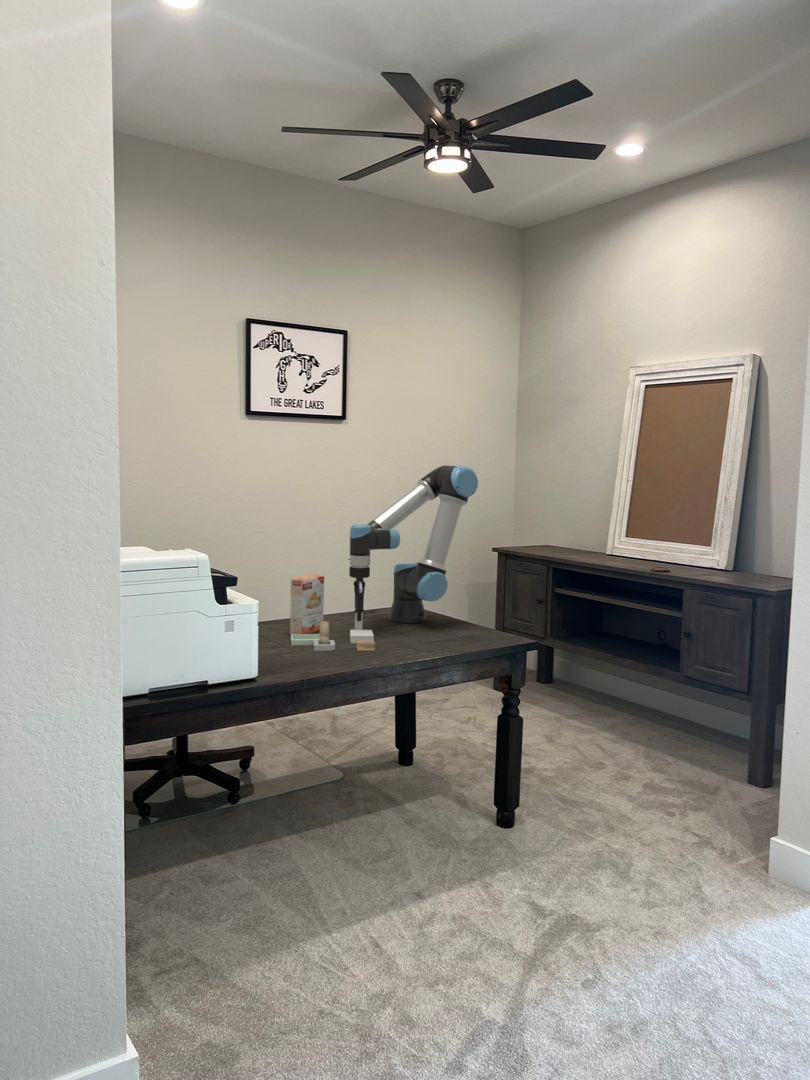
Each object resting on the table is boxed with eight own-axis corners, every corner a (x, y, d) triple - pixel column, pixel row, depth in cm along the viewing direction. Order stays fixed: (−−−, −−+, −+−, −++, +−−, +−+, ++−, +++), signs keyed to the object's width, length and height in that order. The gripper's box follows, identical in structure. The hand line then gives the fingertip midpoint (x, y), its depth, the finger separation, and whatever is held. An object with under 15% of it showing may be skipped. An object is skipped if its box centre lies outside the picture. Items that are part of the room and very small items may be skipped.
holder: (313, 646, 270) (313, 640, 270) (333, 645, 271) (333, 640, 271) (314, 651, 263) (314, 645, 263) (335, 650, 264) (335, 644, 264)
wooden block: (356, 648, 268) (356, 641, 268) (373, 647, 269) (373, 640, 269) (357, 651, 264) (357, 643, 264) (375, 650, 265) (375, 643, 265)
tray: (290, 639, 278) (291, 634, 278) (325, 639, 280) (325, 633, 280) (291, 646, 269) (291, 640, 269) (326, 645, 271) (326, 639, 271)
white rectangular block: (349, 637, 285) (350, 629, 285) (371, 637, 286) (372, 629, 286) (350, 644, 275) (350, 636, 275) (373, 644, 276) (373, 636, 276)
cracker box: (302, 637, 283) (303, 580, 280) (289, 635, 286) (289, 578, 283) (324, 630, 295) (325, 575, 293) (311, 628, 298) (311, 573, 296)
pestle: (319, 647, 268) (319, 621, 267) (328, 647, 269) (328, 621, 268) (319, 649, 265) (319, 623, 264) (329, 649, 266) (329, 623, 265)
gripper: (348, 563, 293) (347, 625, 296) (350, 568, 280) (349, 633, 283) (368, 563, 294) (366, 625, 297) (371, 568, 282) (370, 633, 284)
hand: (358, 629), depth 290 cm, fingers closed
